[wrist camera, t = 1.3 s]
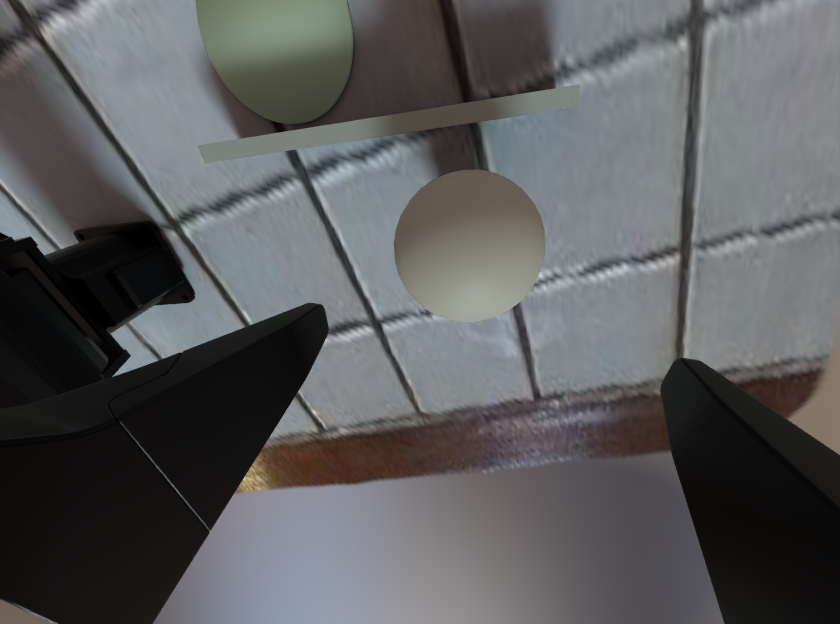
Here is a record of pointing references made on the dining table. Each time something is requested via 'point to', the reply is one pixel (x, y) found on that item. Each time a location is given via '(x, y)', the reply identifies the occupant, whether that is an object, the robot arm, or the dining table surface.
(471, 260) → the lightbulb
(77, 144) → the dining table surface
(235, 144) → the grey-green flat bar
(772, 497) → the robot arm
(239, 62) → the pad
